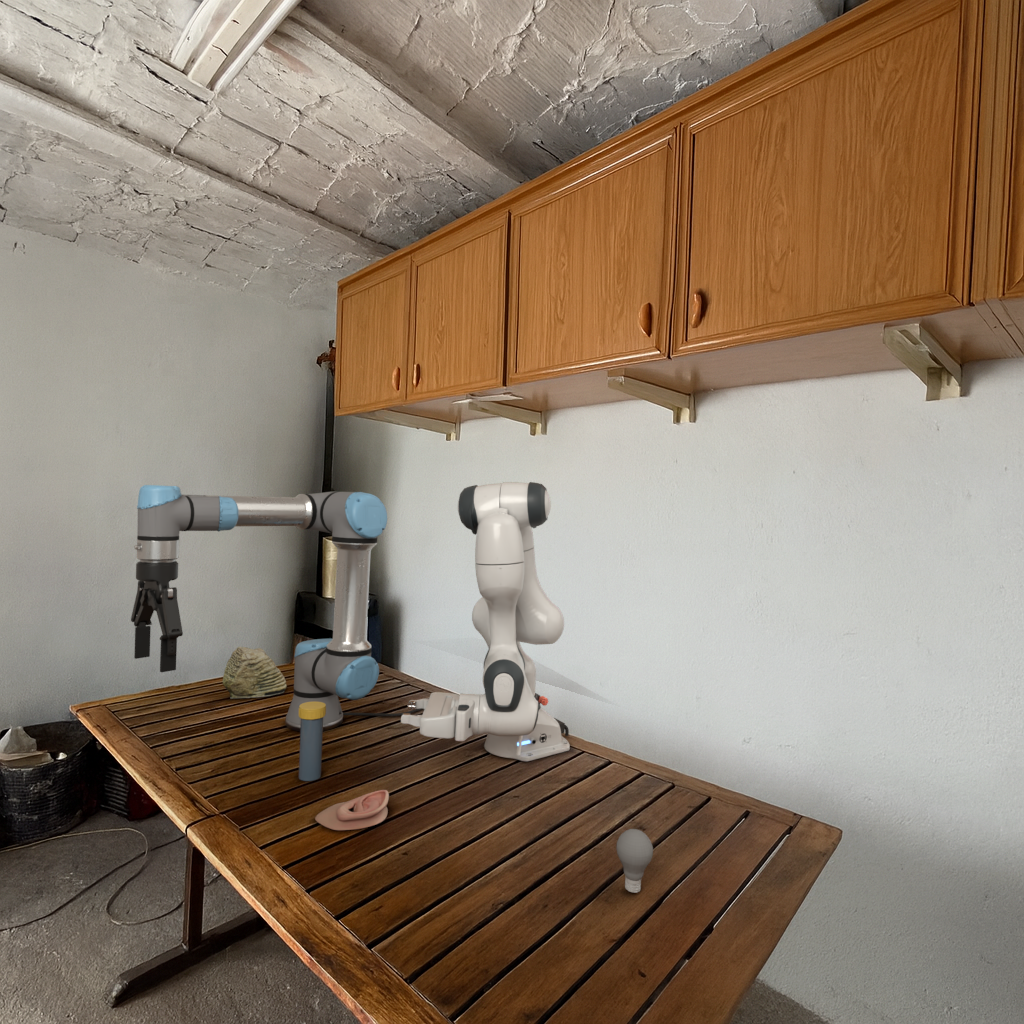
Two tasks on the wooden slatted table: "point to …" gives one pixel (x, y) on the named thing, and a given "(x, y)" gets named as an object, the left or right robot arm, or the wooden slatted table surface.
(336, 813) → the anatomical model
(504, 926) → the wooden slatted table surface
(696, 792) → the wooden slatted table surface
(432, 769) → the wooden slatted table surface
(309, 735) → the blue-grey cylinder
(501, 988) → the wooden slatted table surface
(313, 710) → the lid
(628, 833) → the light bulb
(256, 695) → the fossil
